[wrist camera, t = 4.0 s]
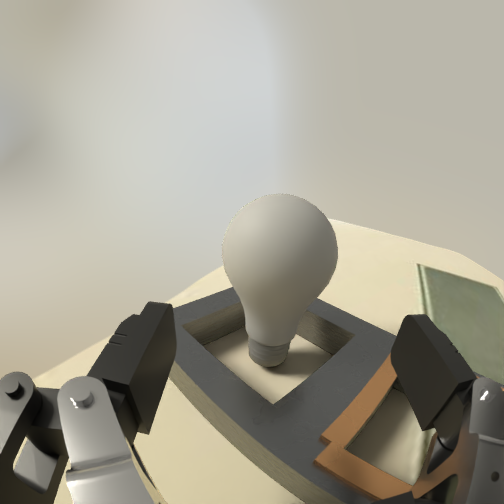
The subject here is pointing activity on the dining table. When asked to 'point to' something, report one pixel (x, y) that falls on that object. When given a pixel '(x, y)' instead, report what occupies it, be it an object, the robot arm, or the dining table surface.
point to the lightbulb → (277, 268)
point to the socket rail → (295, 400)
